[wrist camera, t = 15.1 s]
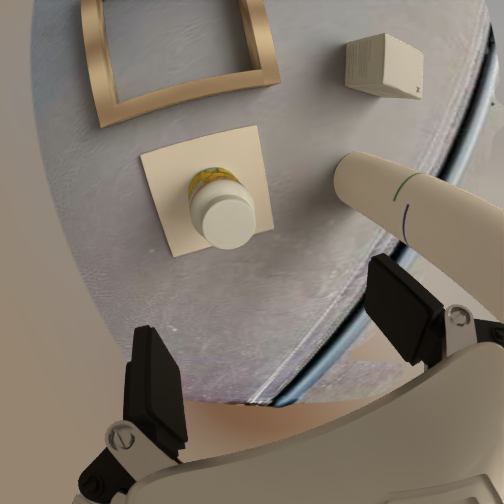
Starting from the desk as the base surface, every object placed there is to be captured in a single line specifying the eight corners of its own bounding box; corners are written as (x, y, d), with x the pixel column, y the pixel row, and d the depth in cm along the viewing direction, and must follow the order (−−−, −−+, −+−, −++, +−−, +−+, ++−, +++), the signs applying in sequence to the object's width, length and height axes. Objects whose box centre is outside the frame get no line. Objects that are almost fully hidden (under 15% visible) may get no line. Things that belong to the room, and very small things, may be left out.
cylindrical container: (329, 204, 33) (494, 340, 11) (337, 148, 29) (542, 240, 8) (372, 206, 34) (522, 315, 13) (382, 155, 31) (556, 238, 10)
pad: (141, 154, 25) (140, 155, 24) (255, 125, 26) (256, 125, 26) (173, 254, 31) (173, 257, 30) (272, 226, 32) (274, 228, 32)
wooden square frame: (87, -3, 14) (79, -13, 11) (242, -38, 16) (248, -50, 13) (109, 126, 22) (100, 127, 20) (271, 85, 24) (281, 82, 22)
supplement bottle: (178, 201, 27) (178, 241, 19) (203, 156, 26) (214, 175, 18) (222, 222, 30) (241, 268, 21) (248, 180, 28) (278, 210, 20)
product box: (384, 57, 24) (424, 53, 18) (381, 98, 27) (423, 101, 21) (345, 42, 23) (384, 31, 17) (342, 86, 26) (382, 84, 19)
